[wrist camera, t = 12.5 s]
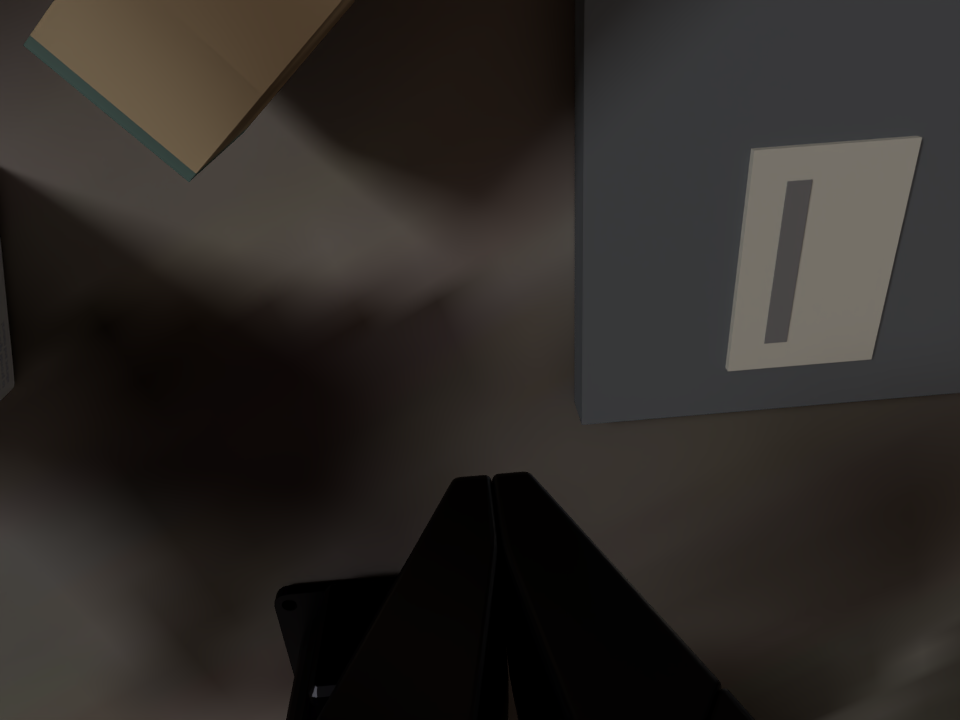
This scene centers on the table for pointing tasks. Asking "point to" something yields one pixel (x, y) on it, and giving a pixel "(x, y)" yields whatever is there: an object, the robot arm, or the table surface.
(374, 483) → the table surface
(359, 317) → the table surface
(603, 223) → the label board
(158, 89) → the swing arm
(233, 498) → the table surface
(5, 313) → the light bulb box
